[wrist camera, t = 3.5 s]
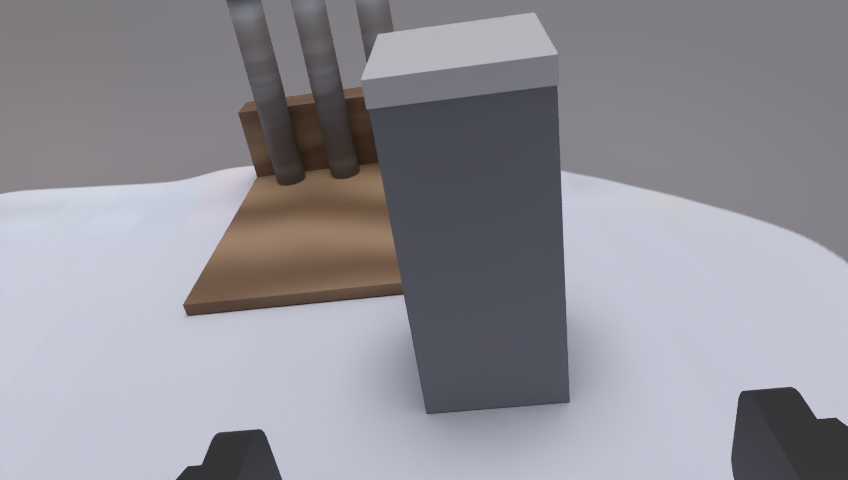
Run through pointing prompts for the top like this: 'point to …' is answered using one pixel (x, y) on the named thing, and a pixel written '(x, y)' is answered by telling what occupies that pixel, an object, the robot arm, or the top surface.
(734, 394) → the top surface
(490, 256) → the plug block
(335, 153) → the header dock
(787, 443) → the robot arm
